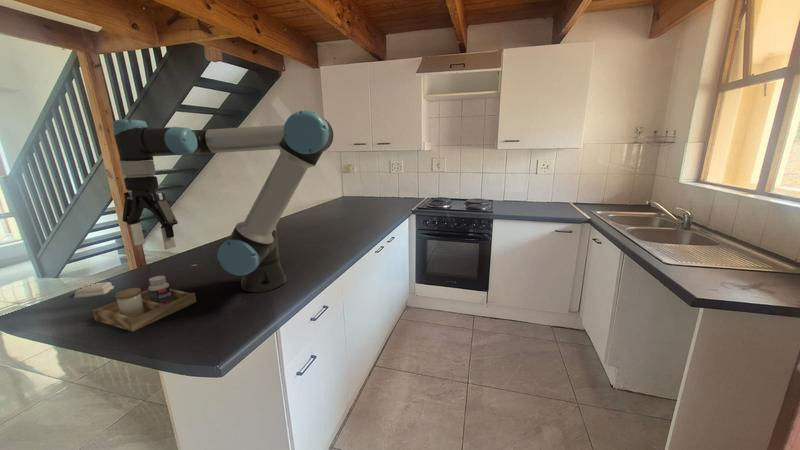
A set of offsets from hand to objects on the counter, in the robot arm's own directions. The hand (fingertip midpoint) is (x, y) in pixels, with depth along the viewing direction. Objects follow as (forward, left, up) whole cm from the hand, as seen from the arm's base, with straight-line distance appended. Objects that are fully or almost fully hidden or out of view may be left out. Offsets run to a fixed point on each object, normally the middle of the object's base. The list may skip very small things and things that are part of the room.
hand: (154, 246), depth 96 cm
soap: (+33, +3, -20) cm, 38 cm away
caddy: (-1, +6, -19) cm, 20 cm away
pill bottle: (-1, +2, -19) cm, 19 cm away
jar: (-1, +10, -19) cm, 21 cm away
